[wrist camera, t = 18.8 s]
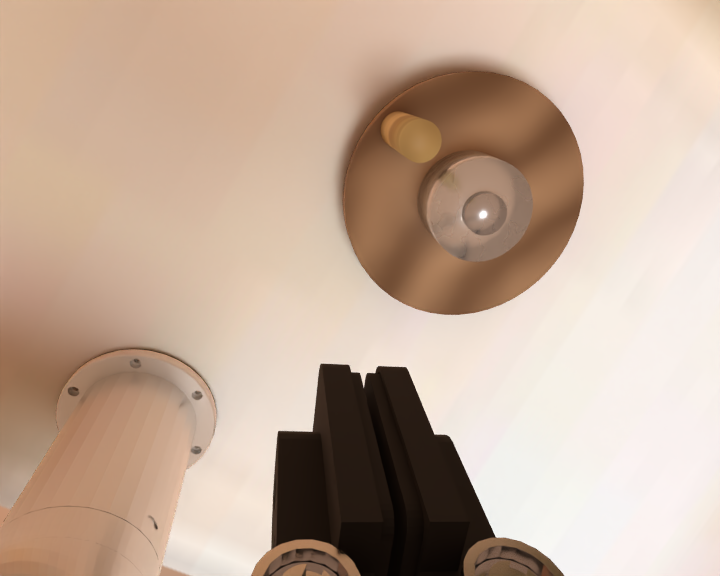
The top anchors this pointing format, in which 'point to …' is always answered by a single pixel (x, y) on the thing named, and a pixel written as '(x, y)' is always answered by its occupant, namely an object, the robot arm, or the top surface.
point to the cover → (475, 205)
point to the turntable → (430, 144)
